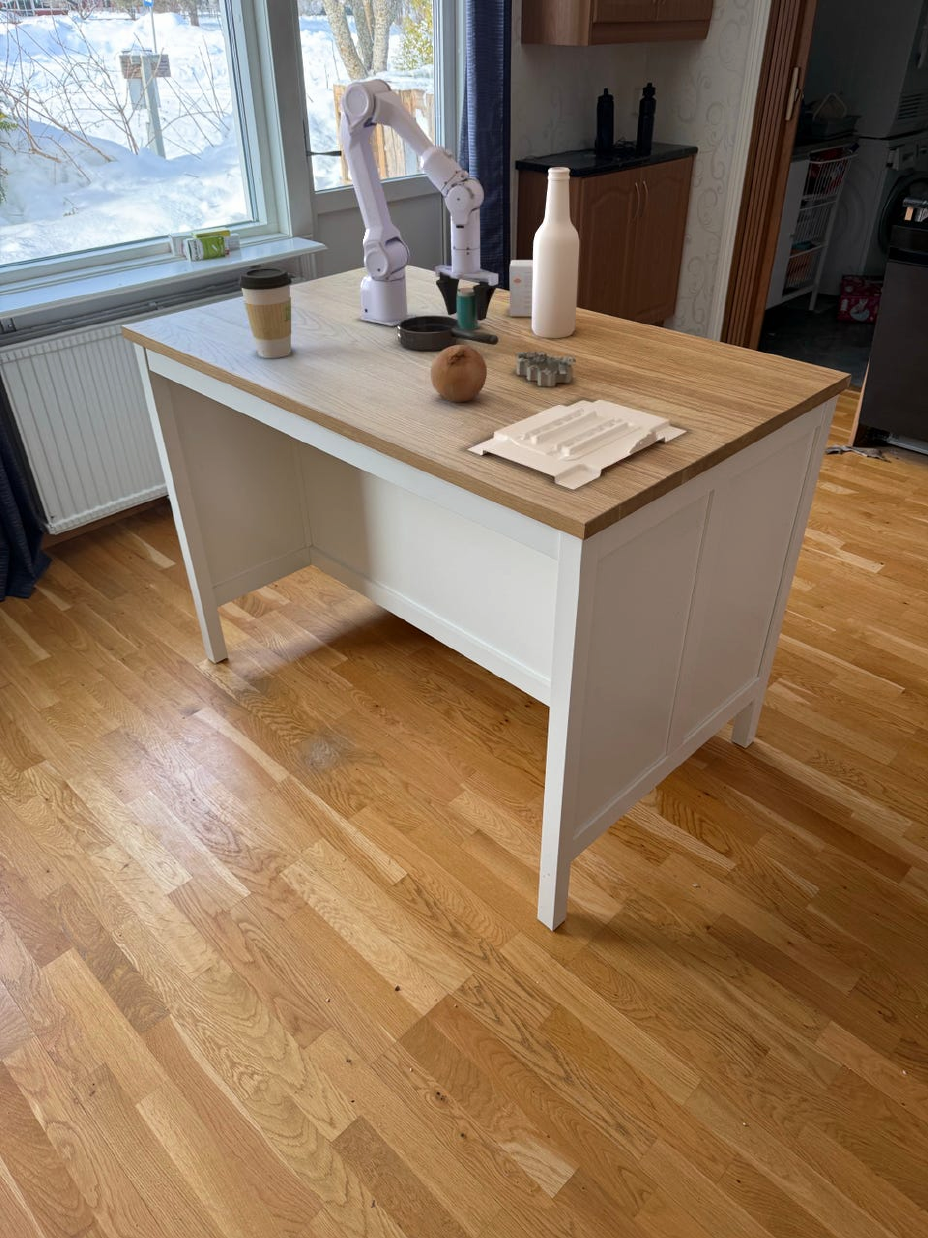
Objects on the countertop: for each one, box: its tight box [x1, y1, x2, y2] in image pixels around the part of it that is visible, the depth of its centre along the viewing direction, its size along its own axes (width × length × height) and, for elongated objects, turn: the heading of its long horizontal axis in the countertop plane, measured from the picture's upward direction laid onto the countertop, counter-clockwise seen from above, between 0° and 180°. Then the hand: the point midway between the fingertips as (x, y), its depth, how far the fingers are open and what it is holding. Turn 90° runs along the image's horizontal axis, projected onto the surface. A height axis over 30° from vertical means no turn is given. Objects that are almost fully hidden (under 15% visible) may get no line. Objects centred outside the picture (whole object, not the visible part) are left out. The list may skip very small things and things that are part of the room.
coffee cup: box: [238, 266, 293, 359], centre depth 170 cm, size 10×10×15 cm
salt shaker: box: [456, 287, 479, 331], centre depth 184 cm, size 4×4×8 cm
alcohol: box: [531, 166, 580, 339], centre depth 174 cm, size 9×9×30 cm
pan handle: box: [451, 327, 499, 346], centre depth 171 cm, size 11×2×2 cm, turn 53°
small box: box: [509, 259, 533, 318], centre depth 191 cm, size 8×6×10 cm
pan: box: [397, 315, 461, 352], centre depth 177 cm, size 12×12×4 cm
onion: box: [430, 344, 488, 403], centre depth 149 cm, size 10×9×10 cm
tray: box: [466, 399, 687, 490], centre depth 135 cm, size 20×28×4 cm
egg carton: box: [513, 350, 577, 388], centre depth 158 cm, size 11×8×4 cm
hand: (466, 316), depth 185 cm, fingers open, 7 cm apart
